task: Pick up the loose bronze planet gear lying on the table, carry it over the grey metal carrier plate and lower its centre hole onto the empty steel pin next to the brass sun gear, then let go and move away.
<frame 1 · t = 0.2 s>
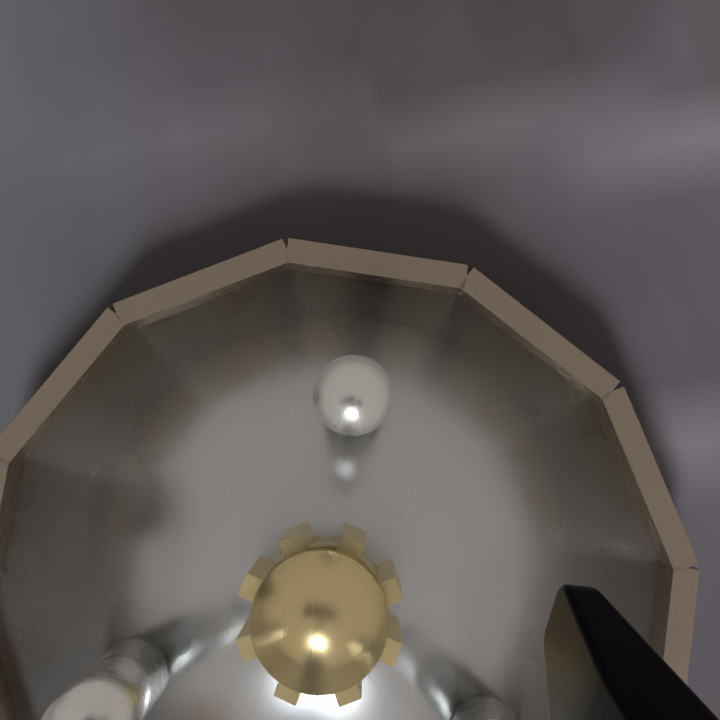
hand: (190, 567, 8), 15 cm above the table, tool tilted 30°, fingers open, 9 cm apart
carrier: (327, 587, 22), on the table
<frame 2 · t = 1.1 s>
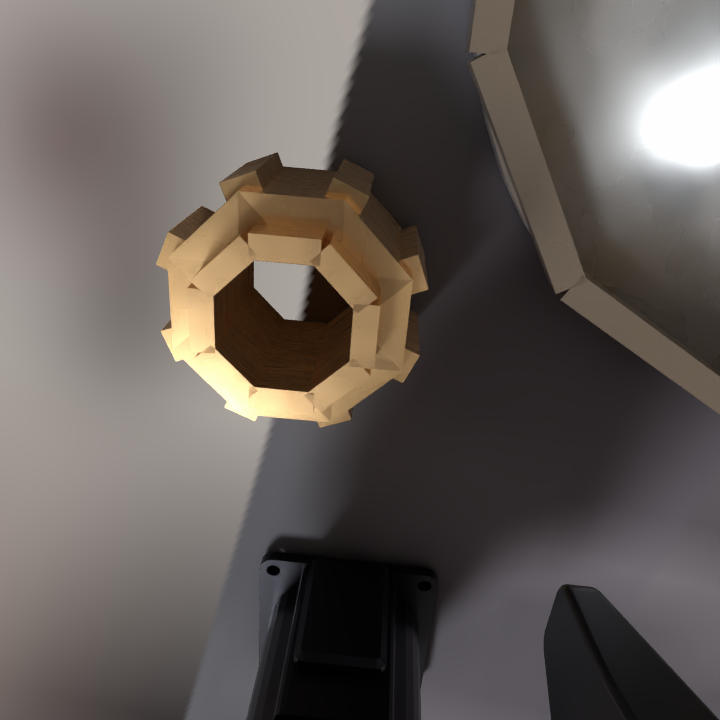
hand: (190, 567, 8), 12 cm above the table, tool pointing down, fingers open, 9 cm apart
planet gear: (307, 271, 19), on the table
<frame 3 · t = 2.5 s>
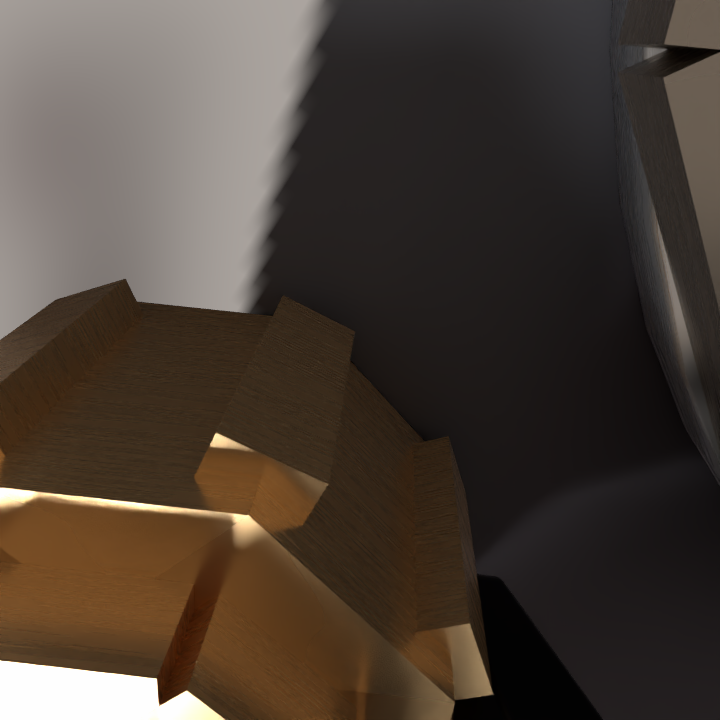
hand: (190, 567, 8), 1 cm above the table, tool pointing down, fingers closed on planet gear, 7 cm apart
planet gear: (216, 502, 9), on the table, touching gripper
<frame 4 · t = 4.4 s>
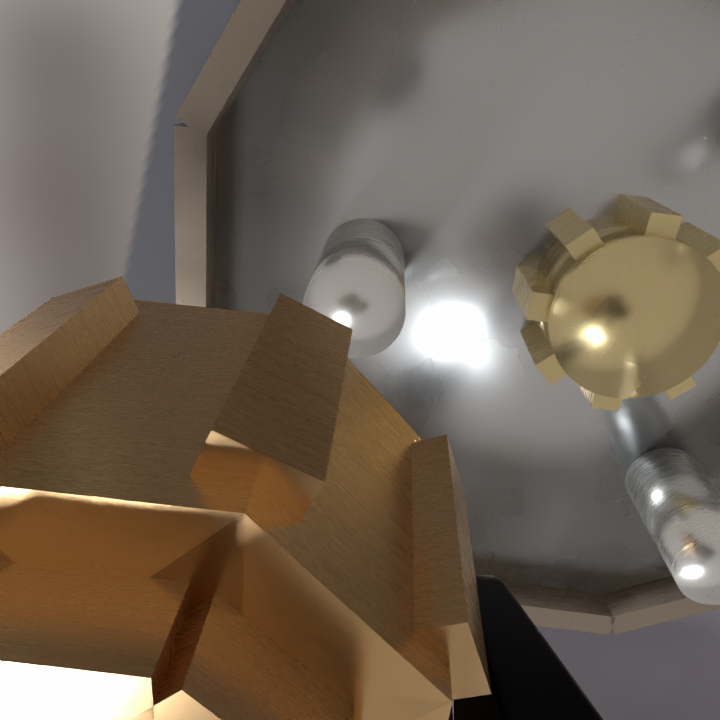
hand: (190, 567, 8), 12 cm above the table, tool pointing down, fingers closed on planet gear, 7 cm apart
planet gear: (214, 501, 9), point 11 cm above the table, touching gripper
carrier: (594, 275, 18), on the table
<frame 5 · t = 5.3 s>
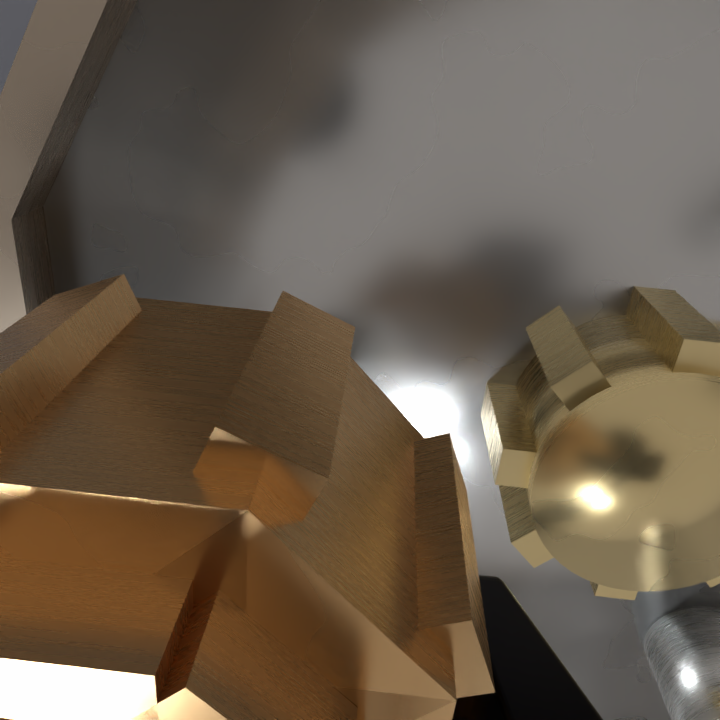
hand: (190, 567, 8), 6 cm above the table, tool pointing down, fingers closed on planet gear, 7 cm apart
planet gear: (215, 499, 9), point 5 cm above the table, touching gripper
carrier: (598, 382, 13), on the table
when the fingers open (4 cm above the table, at t = 6.2 s): planet gear drops 1 cm, resting on carrier.
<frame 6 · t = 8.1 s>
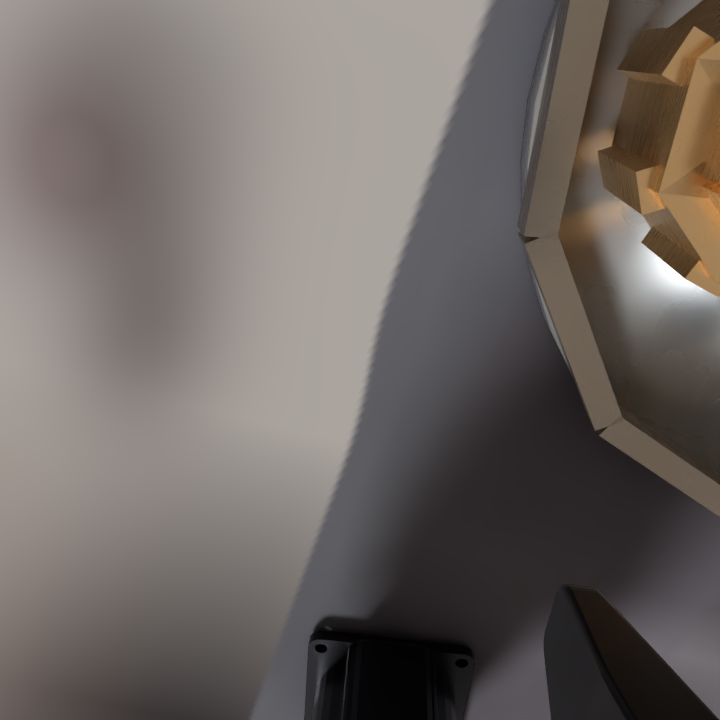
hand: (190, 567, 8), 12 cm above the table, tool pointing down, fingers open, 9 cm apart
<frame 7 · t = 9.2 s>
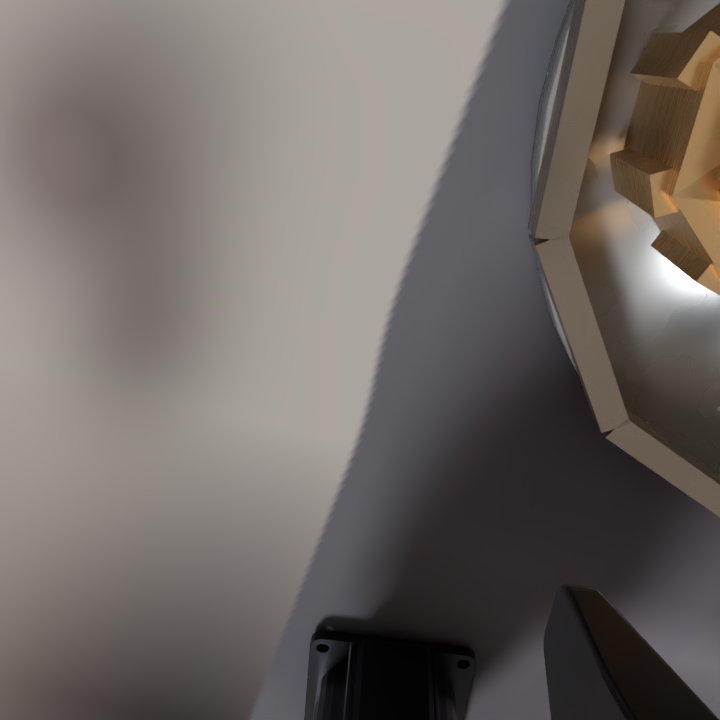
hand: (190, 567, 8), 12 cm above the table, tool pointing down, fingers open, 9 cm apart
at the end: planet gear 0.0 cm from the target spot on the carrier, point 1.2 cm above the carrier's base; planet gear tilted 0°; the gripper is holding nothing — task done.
